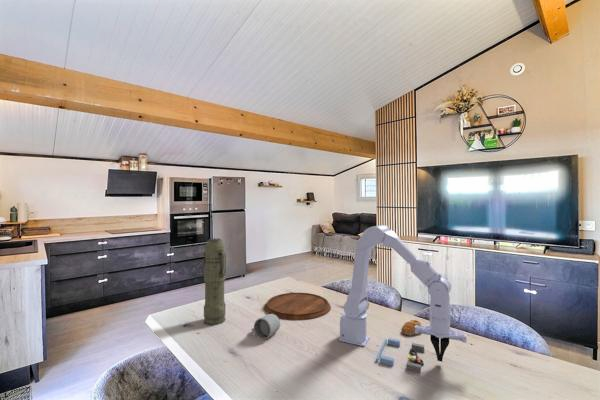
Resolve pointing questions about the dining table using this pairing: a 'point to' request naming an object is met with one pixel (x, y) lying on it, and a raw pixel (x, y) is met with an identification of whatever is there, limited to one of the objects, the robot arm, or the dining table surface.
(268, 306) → the cutting board
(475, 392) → the dining table surface
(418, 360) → the composite cable
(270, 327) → the ceramic mug
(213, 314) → the thermos
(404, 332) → the pastry
